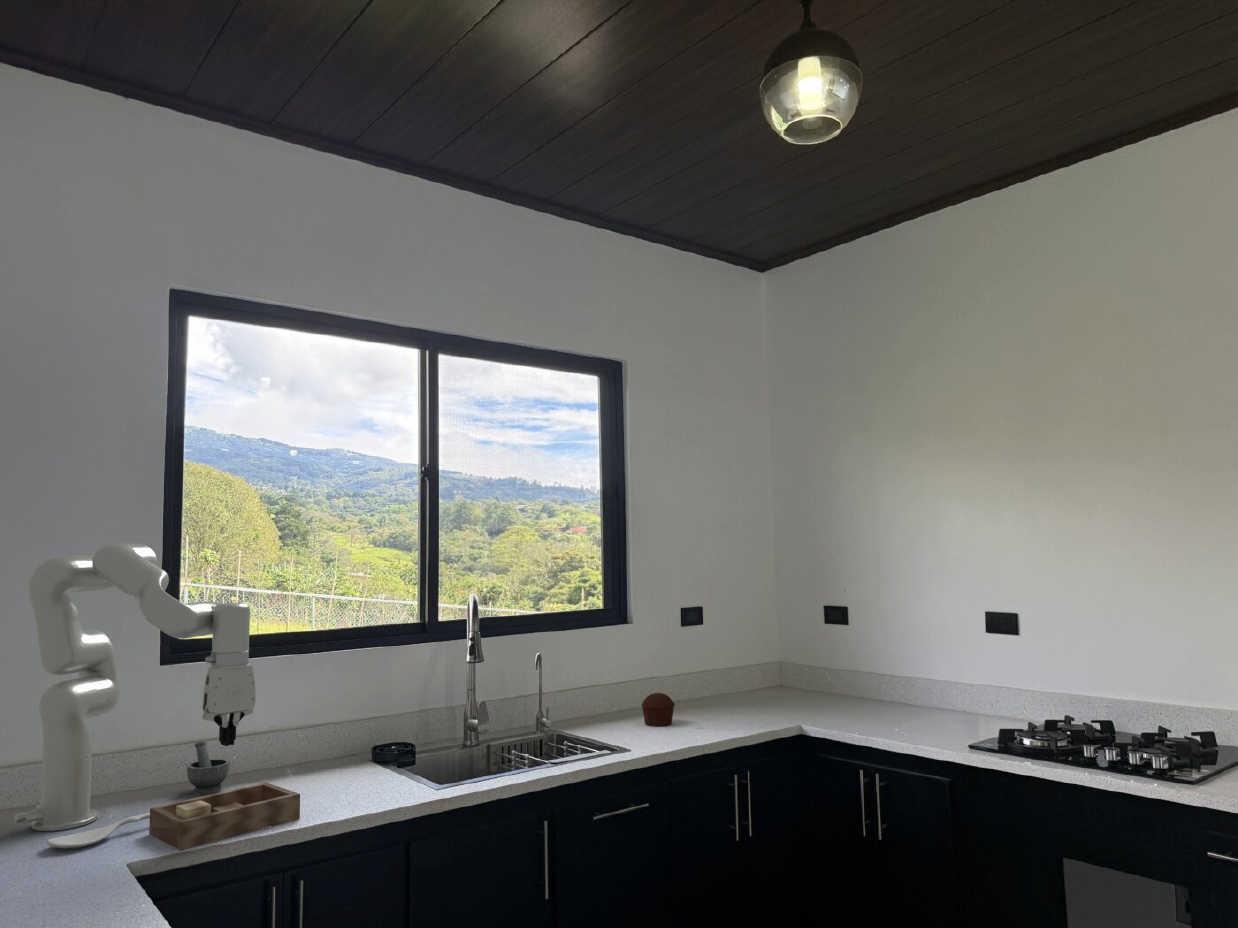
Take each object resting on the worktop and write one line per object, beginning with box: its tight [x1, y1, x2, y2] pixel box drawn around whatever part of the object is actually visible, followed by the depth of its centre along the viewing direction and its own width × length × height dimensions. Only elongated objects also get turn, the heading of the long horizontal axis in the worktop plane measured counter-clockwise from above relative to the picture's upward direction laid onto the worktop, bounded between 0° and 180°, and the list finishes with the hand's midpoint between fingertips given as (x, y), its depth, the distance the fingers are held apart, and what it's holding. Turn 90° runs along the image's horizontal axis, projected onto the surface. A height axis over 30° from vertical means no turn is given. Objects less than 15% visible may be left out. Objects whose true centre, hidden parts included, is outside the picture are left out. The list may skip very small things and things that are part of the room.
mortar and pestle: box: [186, 740, 231, 796], centre depth 224 cm, size 11×9×12 cm
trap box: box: [148, 782, 301, 851], centre depth 194 cm, size 26×16×6 cm, turn 138°
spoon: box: [46, 812, 150, 849], centre depth 191 cm, size 9×32×4 cm, turn 142°
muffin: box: [640, 692, 676, 728], centre depth 295 cm, size 12×11×10 cm
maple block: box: [176, 800, 211, 819], centre depth 186 cm, size 5×5×4 cm
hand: (227, 744), depth 193 cm, fingers closed
